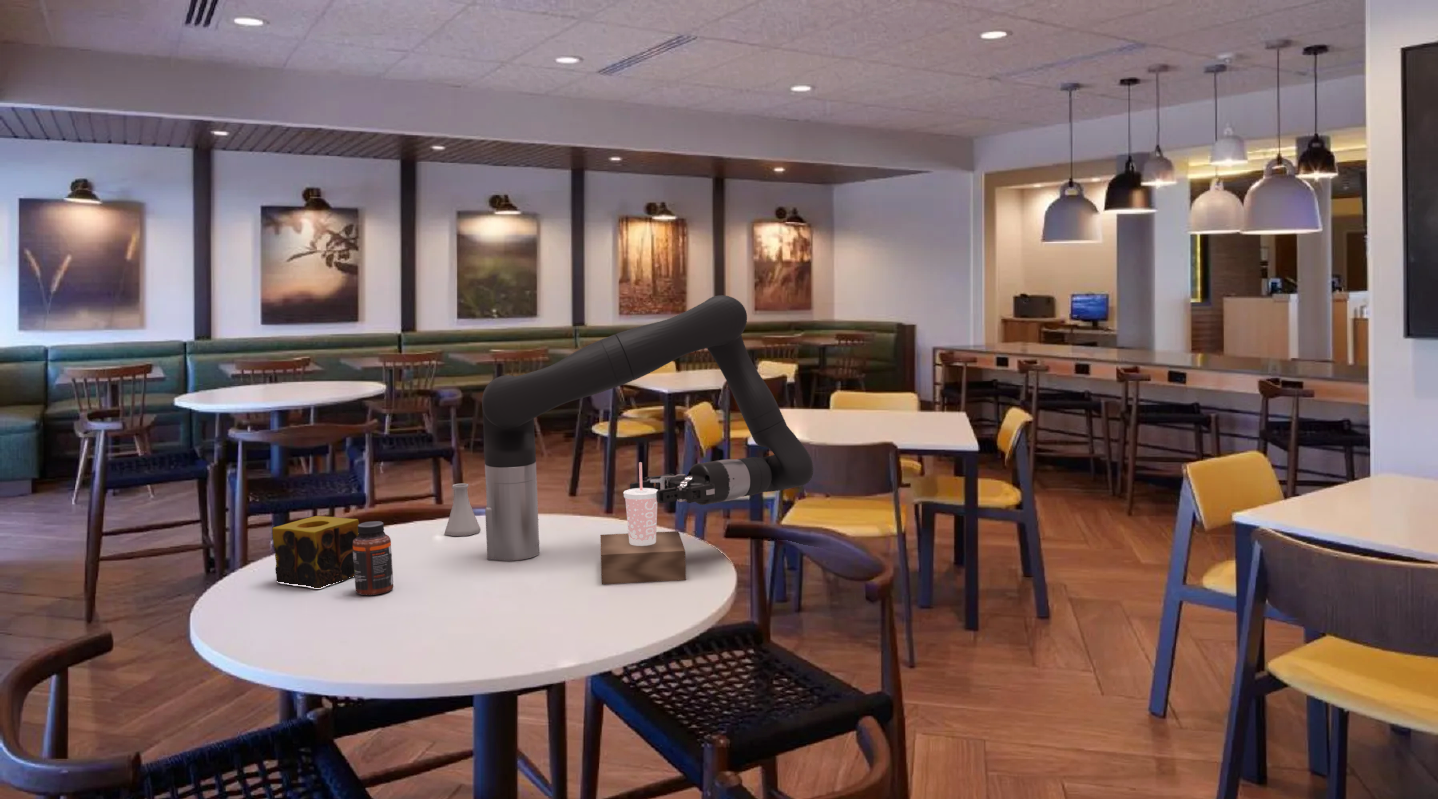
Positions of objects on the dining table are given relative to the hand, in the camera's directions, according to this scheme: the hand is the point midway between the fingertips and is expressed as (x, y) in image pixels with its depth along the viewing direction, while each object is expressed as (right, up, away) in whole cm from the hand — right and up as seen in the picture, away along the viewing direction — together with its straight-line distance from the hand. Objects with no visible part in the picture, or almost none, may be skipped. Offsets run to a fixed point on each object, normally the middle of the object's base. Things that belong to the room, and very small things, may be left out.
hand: (644, 493), depth 171 cm
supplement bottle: (-44, -15, -8) cm, 47 cm away
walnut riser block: (0, -13, +1) cm, 14 cm away
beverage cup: (0, -9, 0) cm, 9 cm away
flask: (-39, -11, +31) cm, 52 cm away
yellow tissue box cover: (-56, -15, -1) cm, 58 cm away
